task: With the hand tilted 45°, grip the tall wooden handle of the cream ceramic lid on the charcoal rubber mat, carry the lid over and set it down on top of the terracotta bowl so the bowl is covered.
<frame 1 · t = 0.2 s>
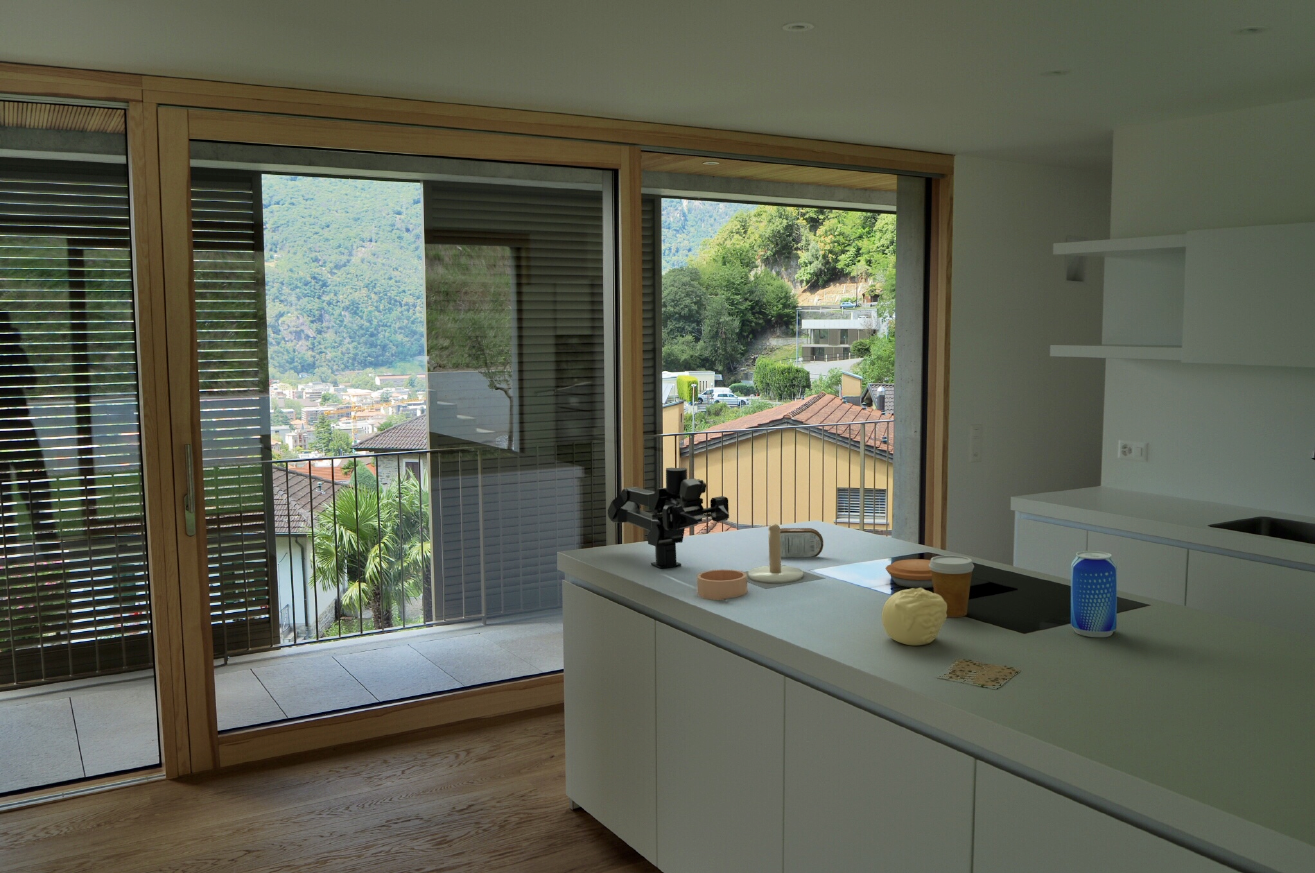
hand: (713, 518, 249), 17 cm above the counter, tool horizontal, fingers open, 9 cm apart
disposable coffee cup: (951, 614, 216), on the counter
cookie: (976, 677, 177), on the counter
bowl: (722, 593, 240), on the counter
beer can: (1093, 633, 199), on the counter
lid: (775, 576, 253), resting on mat
tin: (796, 558, 276), on the counter
pale yellow lumpy ball: (913, 641, 198), on the counter
pie: (917, 583, 244), on the counter
mat: (775, 578, 253), on the counter
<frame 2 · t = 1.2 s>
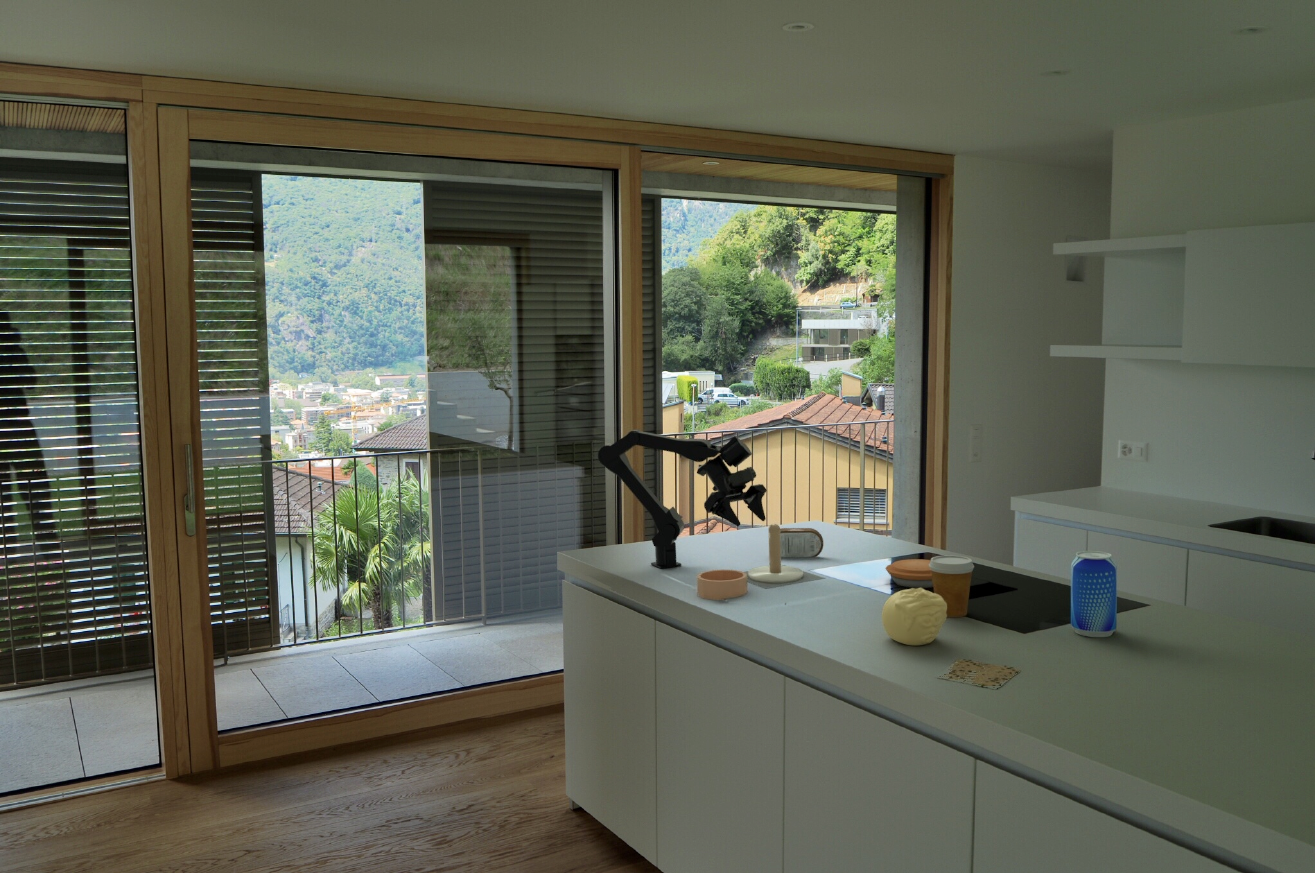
hand: (752, 522, 258), 14 cm above the counter, tool tilted 45°, fingers open, 9 cm apart
nothing on the counter moved.
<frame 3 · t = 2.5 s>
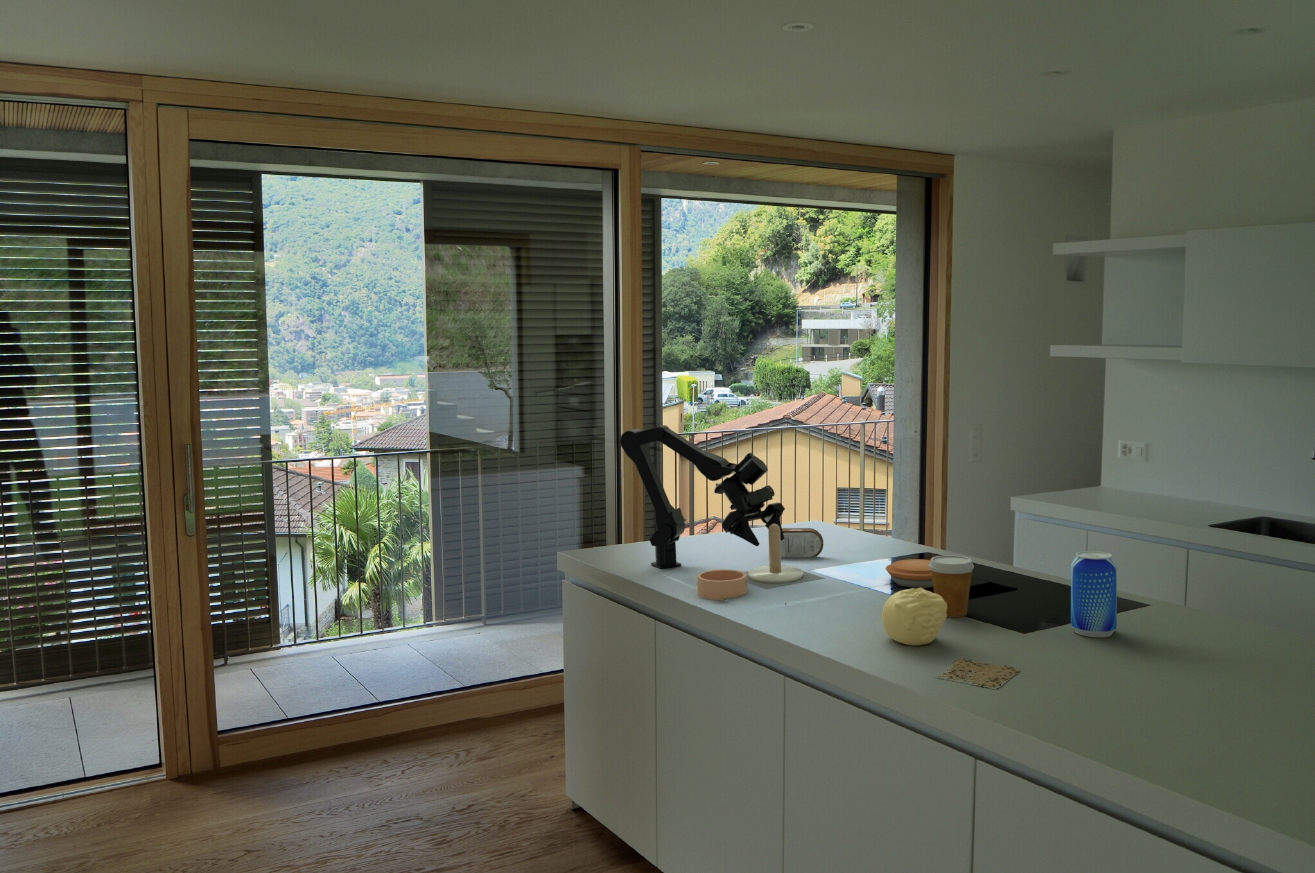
hand: (770, 542, 254), 9 cm above the counter, tool tilted 45°, fingers open, 9 cm apart
nothing on the counter moved.
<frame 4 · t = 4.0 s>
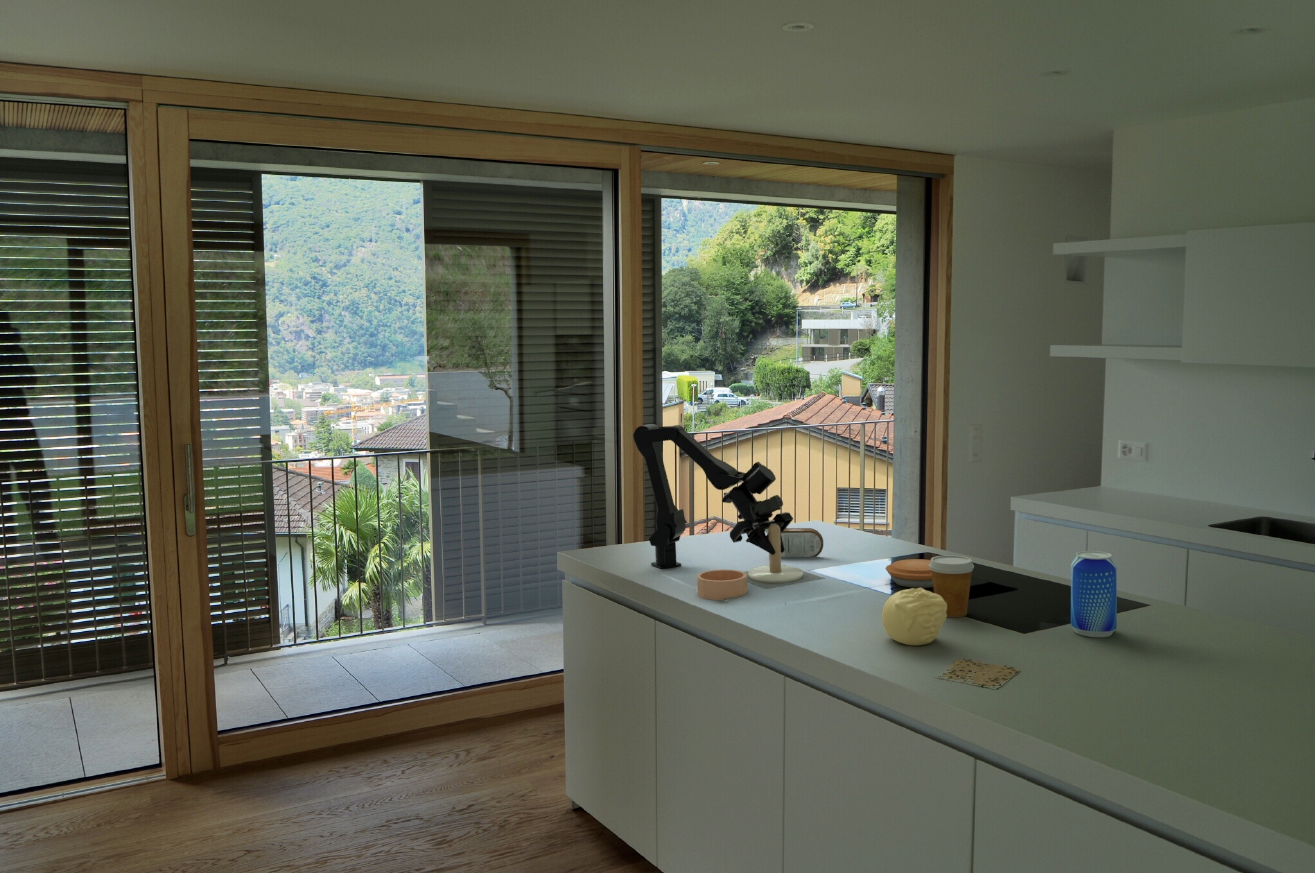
hand: (778, 552, 251), 7 cm above the counter, tool tilted 45°, fingers closed on lid, 3 cm apart
lid: (775, 576, 253), point 1 cm above the counter, touching gripper, mat
everything else where it was.
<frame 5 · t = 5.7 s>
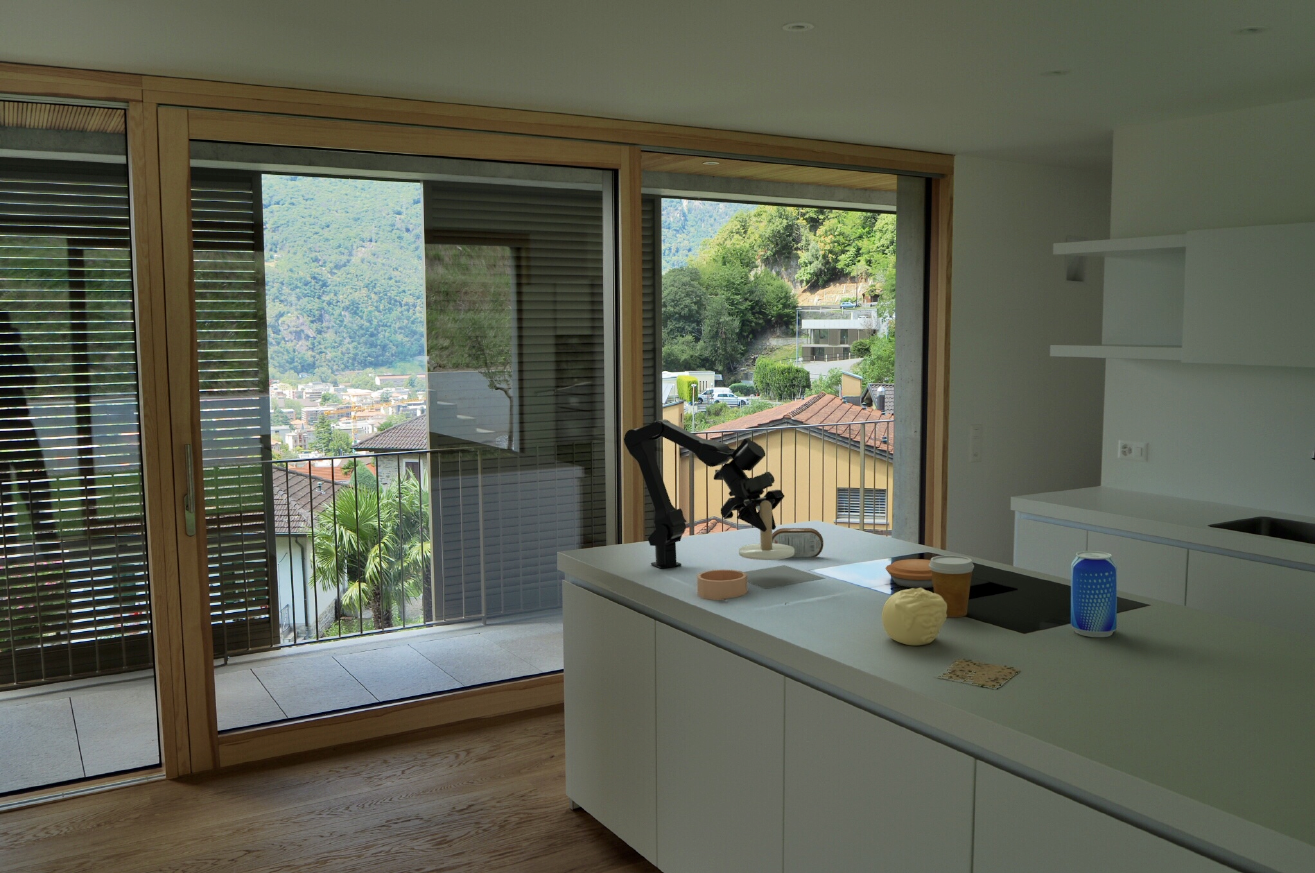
hand: (770, 529, 249), 13 cm above the counter, tool tilted 45°, fingers closed on lid, 3 cm apart
lid: (766, 553, 251), point 7 cm above the counter, touching gripper
everything else where it was.
when the fingers open (12 cm above the counter, at t = 7.7 s): lid drops 1 cm, resting on bowl.
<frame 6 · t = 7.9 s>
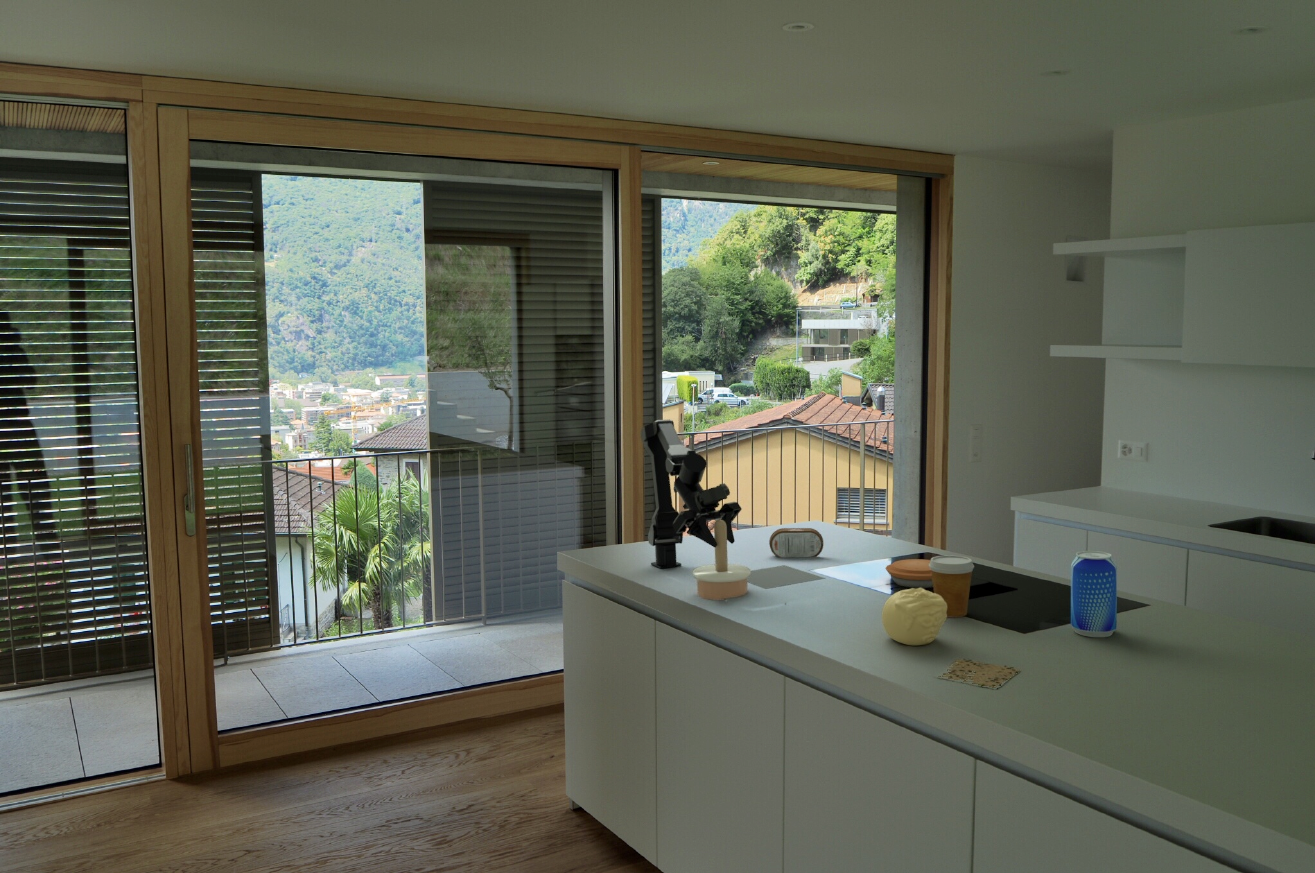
hand: (724, 544, 238), 12 cm above the counter, tool tilted 45°, fingers open, 5 cm apart
lid: (721, 575, 240), point 4 cm above the counter, touching bowl
everything else where it was.
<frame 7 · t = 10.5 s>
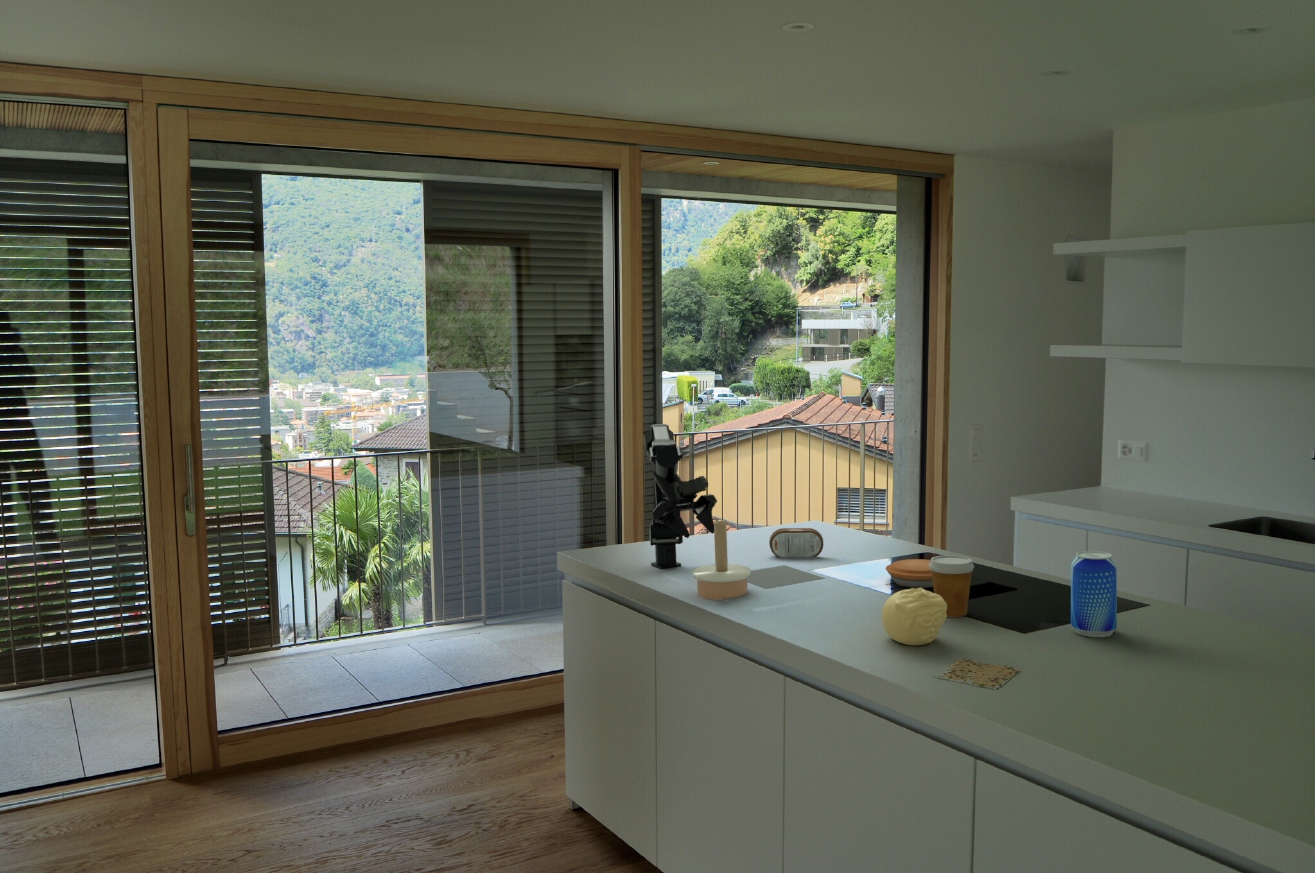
hand: (701, 534, 246), 13 cm above the counter, tool tilted 40°, fingers open, 9 cm apart
nothing on the counter moved.
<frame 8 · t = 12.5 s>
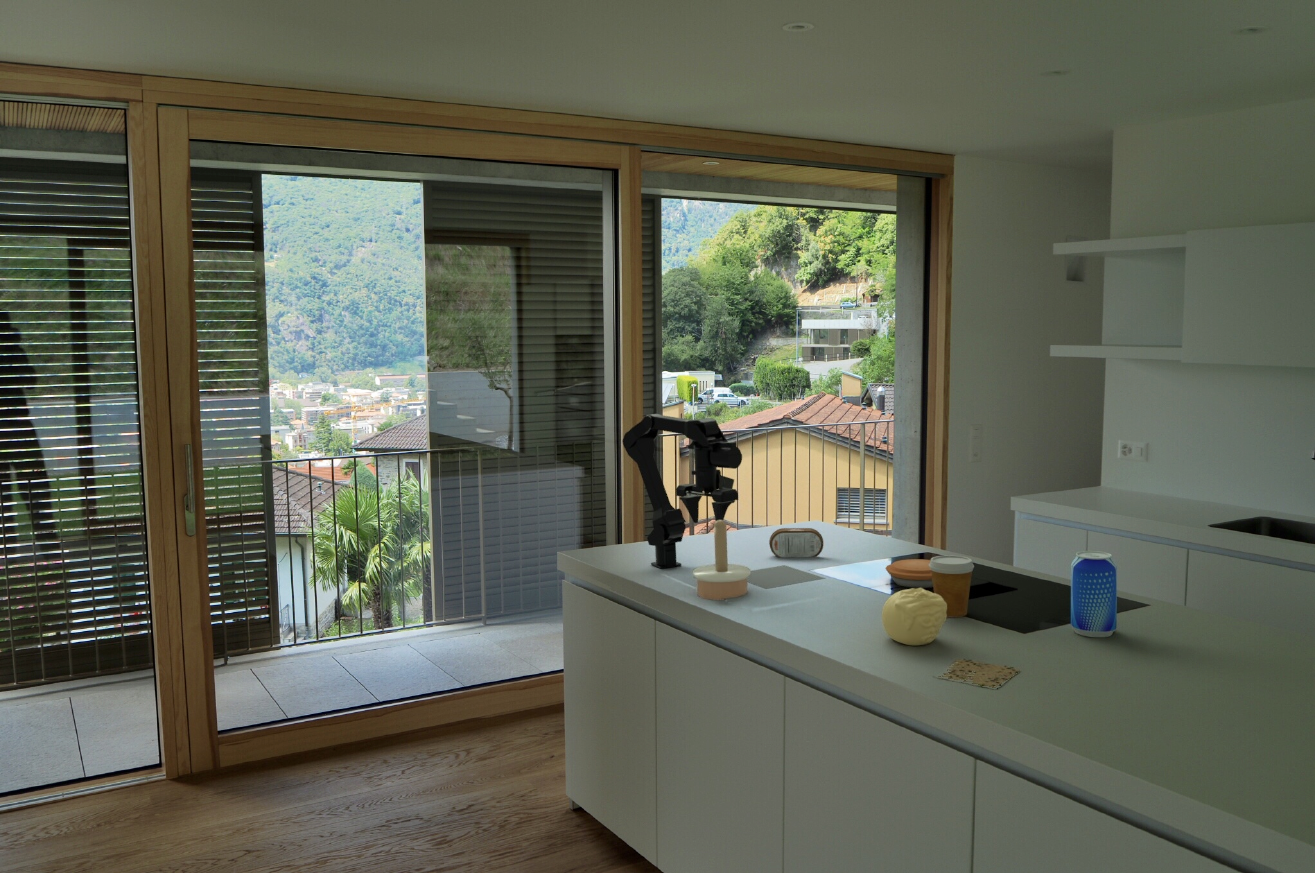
hand: (707, 524, 260), 13 cm above the counter, tool pointing down, fingers open, 9 cm apart
nothing on the counter moved.
at the end: lid 0.1 cm off-centre on the bowl, point 4.5 cm above the bowl's base; lid tilted 0°; the gripper is holding nothing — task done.
